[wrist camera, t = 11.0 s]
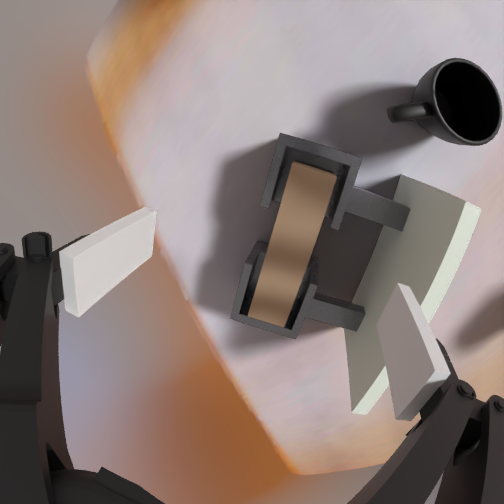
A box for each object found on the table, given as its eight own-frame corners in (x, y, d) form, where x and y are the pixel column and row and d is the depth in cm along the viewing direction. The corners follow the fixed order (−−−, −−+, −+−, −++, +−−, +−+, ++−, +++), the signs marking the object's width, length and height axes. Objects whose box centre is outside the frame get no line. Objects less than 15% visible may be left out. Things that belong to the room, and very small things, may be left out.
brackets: (286, 135, 31) (279, 132, 25) (401, 174, 30) (421, 182, 24) (243, 289, 39) (230, 318, 33) (343, 320, 38) (346, 353, 31)
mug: (361, 85, 28) (378, 64, 19) (449, 73, 24) (487, 57, 16) (381, 154, 30) (407, 158, 21) (467, 138, 27) (510, 141, 18)
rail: (295, 160, 29) (292, 162, 25) (332, 171, 29) (336, 176, 24) (256, 293, 35) (247, 316, 31) (288, 303, 35) (284, 327, 31)
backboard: (401, 174, 30) (466, 201, 15) (412, 178, 30) (481, 209, 15) (343, 320, 38) (351, 412, 23) (353, 322, 38) (365, 415, 23)
